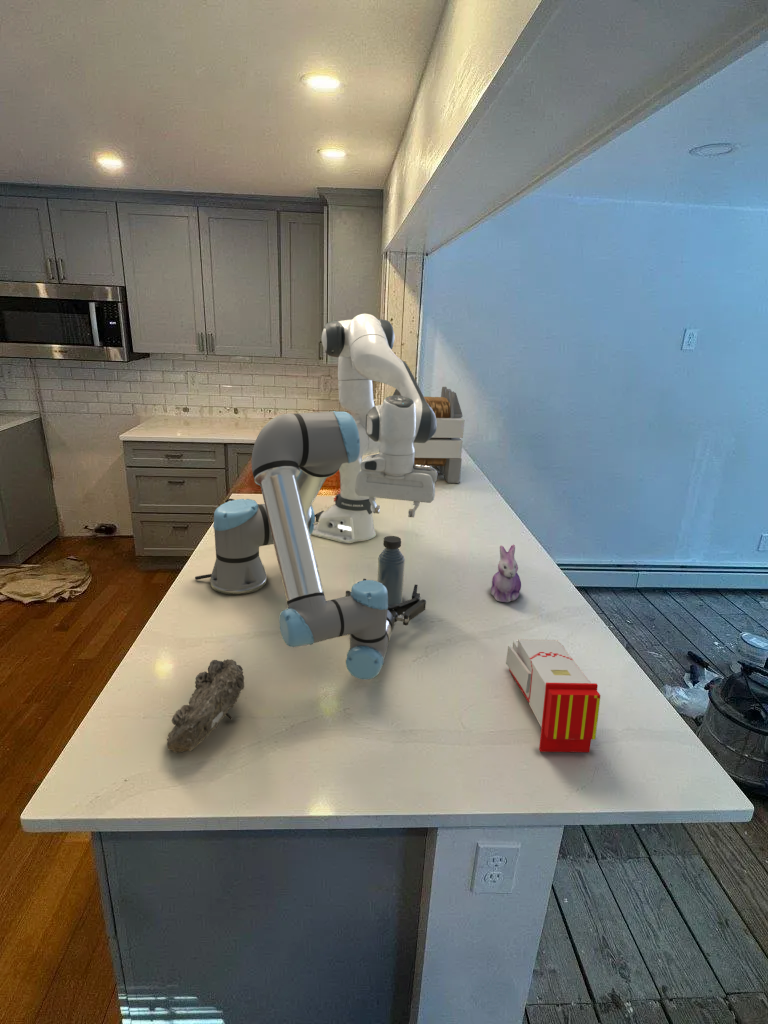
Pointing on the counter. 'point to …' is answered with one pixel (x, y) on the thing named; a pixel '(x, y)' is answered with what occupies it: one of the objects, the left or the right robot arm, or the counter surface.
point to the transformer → (443, 437)
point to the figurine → (506, 577)
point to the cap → (392, 542)
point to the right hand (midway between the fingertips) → (393, 514)
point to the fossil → (206, 705)
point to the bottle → (391, 574)
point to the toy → (556, 694)
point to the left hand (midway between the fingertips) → (390, 586)
